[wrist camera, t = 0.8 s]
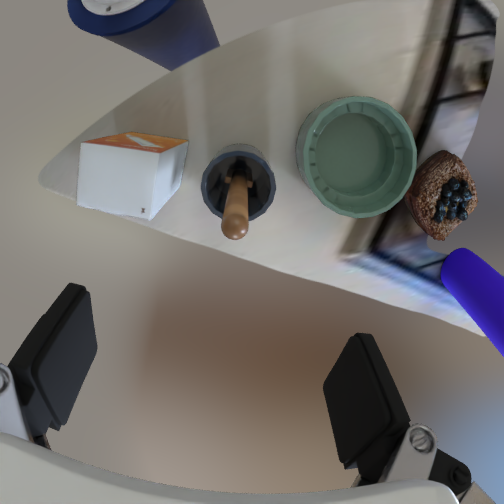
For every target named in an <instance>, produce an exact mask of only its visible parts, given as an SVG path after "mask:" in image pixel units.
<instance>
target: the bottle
mask: <svg viewBox="0 0 504 504" xmlns="http://www.w3.org/2000/svg"><path fill="white" fill-rule="evenodd" d="M441 280H442V282H443V284H444V285H445V287H446V288H447V289H448V290H449V292H450V293H451V294H452V295H453V296H454V298H455V299H456V300H457V301H458V302H459V303H460V305H461V306H462V307H463V308H464V309H465V310H466V312H467V313H468V314H469V315H470V316H471V318H472V319H473V320H474V321H475V322H476V324H477V325H478V326H479V327H480V328H481V330H482V331H483V332H484V333H485V335H486V336H487V337H488V338H489V339H490V341H491V342H492V343H493V344H494V346H495V347H496V348H497V349H498V351H499V352H500V353H501V354H502V356H503V357H504V277H503V276H501V275H500V274H499V273H498V272H497V271H496V270H494V269H493V268H492V267H491V266H490V265H488V264H487V263H486V262H485V261H484V260H482V259H481V258H480V257H478V256H477V255H475V254H474V253H473V252H471V251H470V250H468V249H466V248H459V249H456V250H454V251H453V252H451V253H450V254H449V255H448V256H447V258H446V259H445V261H444V263H443V265H442V268H441Z"/></svg>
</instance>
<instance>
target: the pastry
mask: <svg viewBox="0 0 504 504" xmlns="http://www.w3.org/2000/svg"><path fill="white" fill-rule="evenodd" d="M474 183H475V182H474V181H473V180H472V178H471V175H470V173H469V171H468V169H467V168H466V166H465V165H464V163H463V162H462V161H461V159H460V158H459V157H457V156H456V155H455V154H451V153H449V152H448V151H445V150H442V151H439V152H437V153H435V154H433V155H432V156H431V157H429V158H428V159H427V160H426V161H425V162H424V163H423V164H422V165H421V166H420V167H419V168H418V169H417V170H416V172H415V174H414V177H413V180H412V183H411V186H410V187H409V189H408V190H407V192H406V193H405V195H404V199H405V202H406V204H407V207H408V209H409V211H410V213H411V215H412V217H413V218H414V220H415V222H416V223H417V224H418V225H419V226H420V227H421V229H423V230H424V231H425V232H426V233H428V235H430V236H431V237H433V239H437V240H442V241H444V240H445V237H447V236H448V235H449V233H450V232H452V230H454V229H455V228H456V227H457V226H458V225H459V224H460V223H461V222H462V221H464V220H466V219H467V217H468V215H469V214H470V213H471V212H472V211H474V208H475V207H476V206H477V202H478V199H477V196H476V195H477V193H476V188H475V186H474Z"/></svg>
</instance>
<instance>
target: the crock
mask: <svg viewBox="0 0 504 504" xmlns="http://www.w3.org/2000/svg"><path fill="white" fill-rule="evenodd" d="M228 169H233V170H236V169H243V170H244V171H245V172H248V173H252V178H253V185H252V188H250V187H247V192H248V221H251V220H254V219H255V218H257V217H259V216H260V215H262V214H264V213H265V211H266V210H267V209H268V207H269V206H270V205H271V203H272V202H273V199H274V195H275V191H276V184H275V178H274V173H273V171H272V169H271V167H270V165H269V163H268V161H267V160H266V158H265V157H264V155H263V154H262V152H260V151H259V150H258V149H256V148H255V147H253V146H250V145H247V144H233V145H229V146H227V147H225V148H223V149H222V150H221V151H219V152H218V153H217V154H216V155H215V157H214V158H213V160H212V161H211V162H210V164H209V165H208V167H207V168H206V170H205V171H204V173H203V177H202V182H201V191H202V196H203V200H204V202H205V204H206V205H207V206H208V208H209V209H210V210H211V212H212V213H213V214H215V215H217V216H218V217H220V218H221V219H222V218H223V214H224V209H225V204H226V199H227V195H228V190H229V185H230V184H229V183H225V177H226V174H227V171H228Z"/></svg>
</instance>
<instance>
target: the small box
mask: <svg viewBox="0 0 504 504" xmlns="http://www.w3.org/2000/svg"><path fill="white" fill-rule="evenodd" d="M188 143H189V141H188V140H183V139H175V138H169V137H162V136H156V135H149V134H143V133H136V132H128V133H123V134H118V135H112V136H108V137H103V138H98V139H94V140H89V141H85V142H81V148H80V158H79V169H78V181H77V196H76V205H78V206H81V207H86V208H90V209H95V210H99V211H103V212H107V213H111V214H116V215H123V216H129V217H134V218H140V219H145V220H152V218H153V217H154V216H155V215H156V213H157V212H158V211H159V210H160V209H161V208H162V206H163V205H164V204H165V203H166V202H167V201H168V200H169V198H170V197H171V196H172V195H173V194H174V193H175V192H176V190H177V189H178V188H179V187H180V184H181V178H182V173H183V167H184V162H185V157H186V153H187V148H188Z"/></svg>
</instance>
